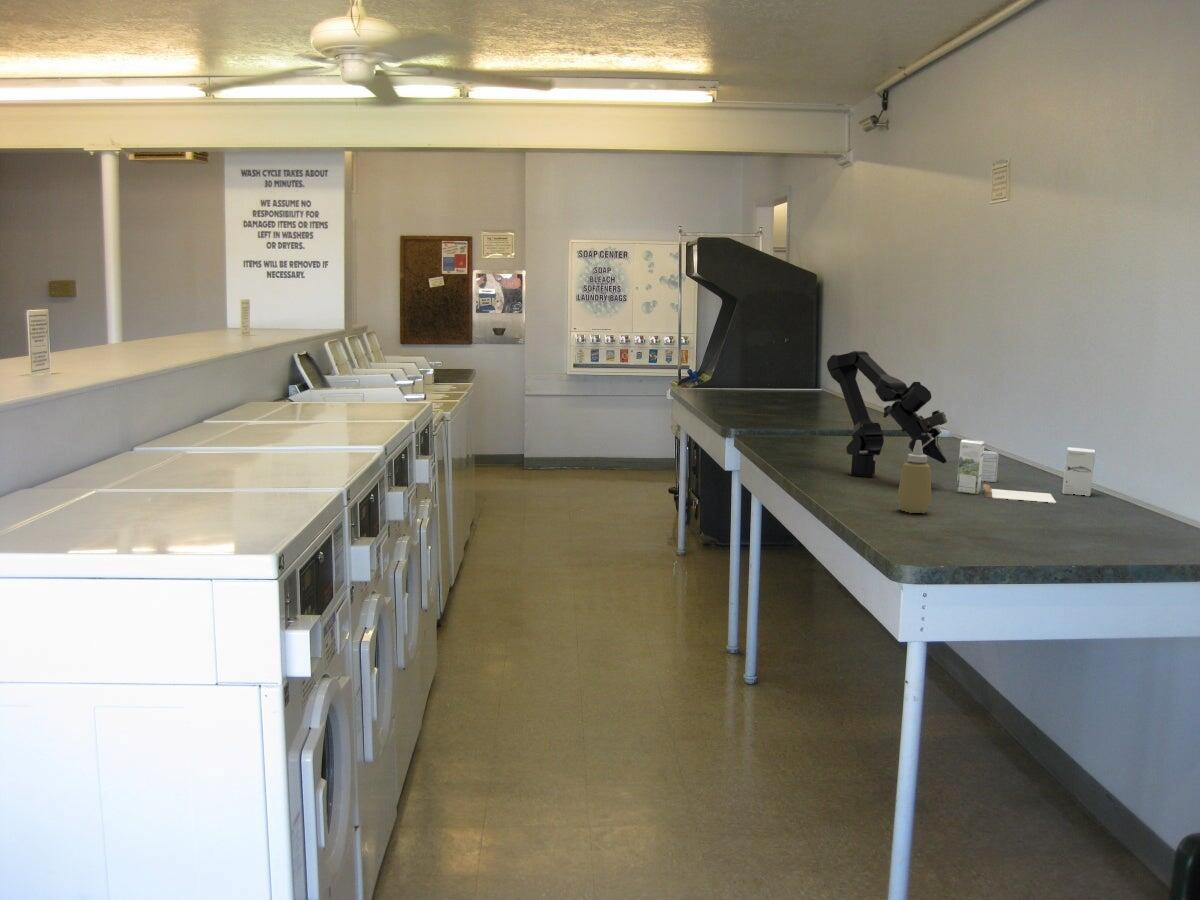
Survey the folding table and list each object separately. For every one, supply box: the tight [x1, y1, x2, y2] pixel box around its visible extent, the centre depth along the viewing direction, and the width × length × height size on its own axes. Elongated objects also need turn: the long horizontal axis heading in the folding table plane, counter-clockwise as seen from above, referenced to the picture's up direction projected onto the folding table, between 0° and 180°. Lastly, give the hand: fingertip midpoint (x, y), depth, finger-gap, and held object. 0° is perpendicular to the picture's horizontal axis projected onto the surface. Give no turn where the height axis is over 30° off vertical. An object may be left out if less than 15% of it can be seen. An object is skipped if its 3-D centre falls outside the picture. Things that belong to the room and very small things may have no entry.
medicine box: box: [981, 450, 1000, 483], centre depth 320 cm, size 8×4×9 cm, turn 84°
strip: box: [982, 483, 993, 499], centre depth 299 cm, size 2×12×2 cm, turn 164°
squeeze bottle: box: [897, 440, 932, 514], centre depth 268 cm, size 8×8×18 cm
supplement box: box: [1061, 446, 1096, 497], centre depth 304 cm, size 7×7×13 cm
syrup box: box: [955, 438, 986, 495], centre depth 299 cm, size 6×6×14 cm
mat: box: [991, 488, 1057, 504], centre depth 297 cm, size 16×14×1 cm
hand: (945, 462), depth 302 cm, fingers closed
